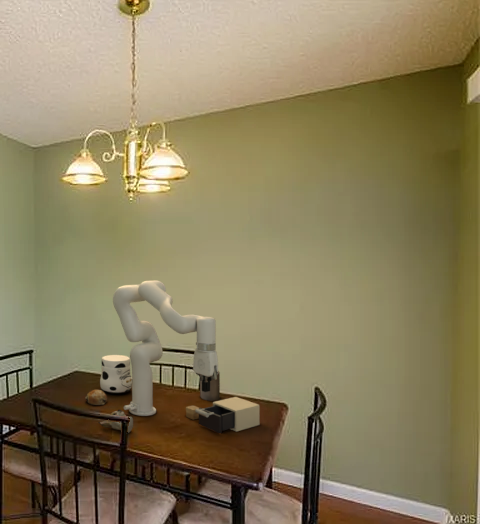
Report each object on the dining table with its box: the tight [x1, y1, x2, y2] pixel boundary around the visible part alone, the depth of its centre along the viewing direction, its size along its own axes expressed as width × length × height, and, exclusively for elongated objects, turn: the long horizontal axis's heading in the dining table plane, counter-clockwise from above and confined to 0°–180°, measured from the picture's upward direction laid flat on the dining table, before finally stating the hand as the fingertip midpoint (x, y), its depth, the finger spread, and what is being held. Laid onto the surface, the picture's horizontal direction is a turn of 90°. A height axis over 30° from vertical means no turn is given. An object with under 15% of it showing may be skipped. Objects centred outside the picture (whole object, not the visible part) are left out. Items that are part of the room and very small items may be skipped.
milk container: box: [99, 354, 132, 395], centre depth 231 cm, size 17×17×18 cm
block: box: [185, 405, 200, 421], centre depth 192 cm, size 4×4×4 cm
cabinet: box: [212, 396, 261, 433], centre depth 185 cm, size 15×13×9 cm
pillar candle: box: [199, 370, 221, 402], centre depth 219 cm, size 10×10×15 cm
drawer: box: [195, 405, 235, 434], centre depth 179 cm, size 18×11×8 cm, turn 120°
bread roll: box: [85, 389, 108, 406], centre depth 213 cm, size 10×10×8 cm
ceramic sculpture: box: [98, 409, 134, 434], centre depth 178 cm, size 11×9×15 cm
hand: (205, 391), depth 176 cm, fingers closed
